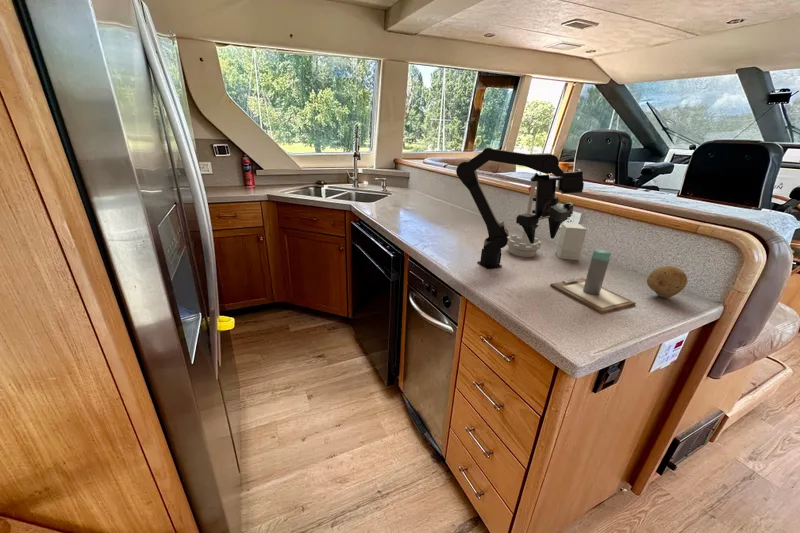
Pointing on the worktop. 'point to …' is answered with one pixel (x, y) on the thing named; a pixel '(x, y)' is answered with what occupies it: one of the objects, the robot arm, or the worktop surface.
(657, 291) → the brown potato
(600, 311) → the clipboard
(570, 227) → the supplement box
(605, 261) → the green-topped grey cylinder
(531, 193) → the flag stand
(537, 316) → the worktop surface
